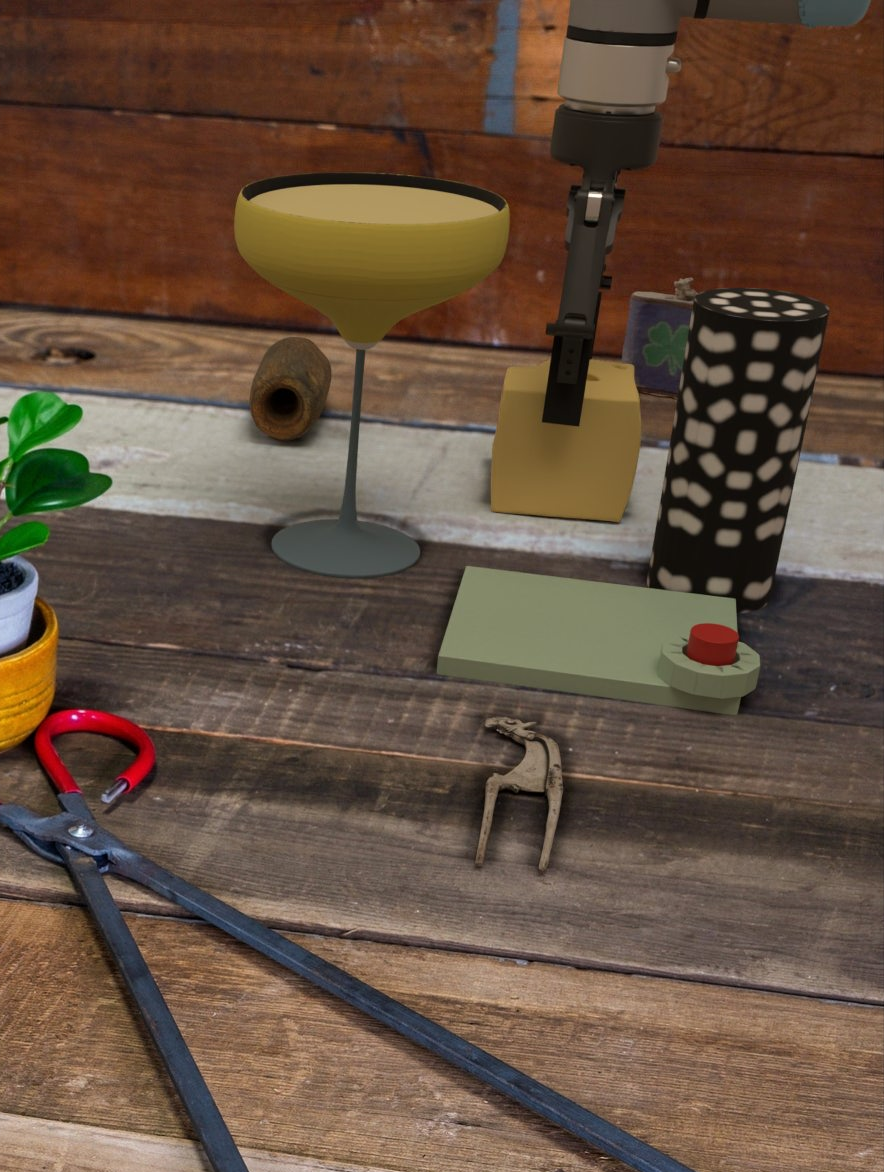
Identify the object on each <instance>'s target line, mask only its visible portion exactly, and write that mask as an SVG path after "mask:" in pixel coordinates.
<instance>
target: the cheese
mask: <svg viewBox="0 0 884 1172" xmlns="http://www.w3.org/2000/svg"><path fill="white" fill-rule="evenodd" d="M550 361H551V358H550V359H547V360H545V361H544V362H542V363H541V364H538V365H533V366H509V367H508V368H507V369H506V373H505V377H504V379H503V384H502V390H501V395H500V402H499V412H498V417H497V422H496V426H495V427H496V428H495V433H494V437H493V441H492V447H491V466H490V467H491V468H490V510H491V512H493V513H496V514H497V513H500V514H513V515H514V514H515V515H528V516H540V517H541V516H542V517H549V518H551V517H552V518H563V519H564V518H565V519H578V520H579V519H580V520H595V521H604V522H613V523H620V522H621V521H622V518H623V515H624V513H625V511H626V508H627V505H628V502H629V500H630V497H631V494H632V492H633V491H632V490H633V488H634V487H633V486H634V482H635V479H636V473H637V469H638V463H639V457H640V450H641V443H642V417H641V416H642V413H641V403H640V401H641V400H640V394H639V391H638V390H637V388H636V385H635V380H634V366H633V365H631V364H623V363H621V362H614V361H607V360H600V359H592V360H591V359H590V361H589V367H588V374H587V380H586V387H585V393H584V400H583V406H582V412H581V419H580V425H579V427H578V426H569V425H560V424H552V423H543V422H542V417H543V410H544V403H545V396H546V389H547V382H548V375H549V368H550Z"/></svg>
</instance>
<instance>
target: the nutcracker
mask: <svg viewBox="0 0 884 1172" xmlns="http://www.w3.org/2000/svg"><path fill="white" fill-rule="evenodd" d="M484 721H485V723H484V726H485V727H486V728H492V727H497V729H496V732H499V733H500V734H504V736H506V737H507V738H511V739H512V740H513V741H514V742H516V743H519V744H521V745H523V746H524V747H525V754H524V757H523V759H522V760H521V762H520V763H519V764H518V765H517V766H515V767H514V768H513V769H512V770H511V771H509V772H508V773H506V774H504V775H503V774H499V773H496V772H494V773H492V776H489V777H488V779H487V780H486V782H485V787H484V788H485V798H484V809H483V815H482V821H481V827H480V832H479V833H480V834H479V840H478V845H477V852H476V857H475V866H476V867H481V866H483V865H484V862H485V857H486V851H487V846H488V841H489V838H490V833H491V829H492V828H491V827H492V823H493V817H494V815H493V814H494V810H495V807H496V801H497V797H498V794H499V791H503V790H510V791H512V792H513V793H516V794H518V792H519V791H520V792H521V791H522V792H528V793H544V796H545V797H546V798H547V802H548V815H547V818H546V823H545V824H546V825H545V834H544V840H543V844H542V851H541V854H540V860H539V863H538V870H539V871H542V872H544V871H545V870H546V869H547V867H548V864H549V862H550V855H551V852H552V851H551V850H552V848H553V843H554V838H555V835H556V829H557V825H558V821H559V817H560V811H561V805H562V800H563V799H562V798H563V793H564V786H563V785H564V784H563V776H562V775H563V773H562V772H563V771H562V770H563V769H562V760H561V753H560V748H559V745H558V743H556V742H555V740H553V738H551V737H549V736H547V735H543V734H540V733H539V732H537V731H535V730H530V729H531V728H533V727H534V726H535V725H537V724H538V721H529V722H525V723H524V722H522V721H521V720H519V719H518V718H515V719H512V718H510V717H507V716H503V717H502V716H496V717H494V716H492V717H491V718H490V717H489V718H486V720H484Z"/></svg>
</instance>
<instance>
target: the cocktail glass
mask: <svg viewBox="0 0 884 1172" xmlns="http://www.w3.org/2000/svg"><path fill="white" fill-rule="evenodd" d="M510 214H511V213H510V207H509V204H508V202H507V200H506V199H505V198H504V197H502V196H501V195H500V194H498V193H495V192H493V191H491V190H489V189H486V188H483V187H479V186H476V185H472V184H469V183H468V184H467V183H464V182H459V181H454V180H447V179H442V178H435V177H428V176H419V175H411V174H400V173H399V174H398V173H386V172H385V173H383V172H360V171H359V172H357V171H355V172H353V171H349V172H348V171H345V172H344V171H341V172H339V171H338V172H337V171H335V172H333V171H332V172H311V173H310V172H309V173H296V174H288V175H280V176H274V177H268V178H263V179H260V180H256V181H253V182H251V183H248V184H246V185H245V186H244V187H243V188H241V190H240V192H239V194H238V196H237V200H236V203H235V209H234V218H233V219H234V223H233V224H234V225H233V230H234V239H235V243H236V247H237V250H238V252H239V254H240V256H241V257H242V259H243V260H244V261H245V262H246V263H247V264H248V266H249V267H250V268H251V269H252V270H254V271H255V272H256V273H257V274H258V275H259V276H260V277H261V278H262V279H263V280H265V281H267V283H269V284H271V285H273V286H274V287H276V288H278V289H279V290H281V291H283V292H284V293H286V294H288V295H289V296H291V297H292V298H295V299H297V300H299V301H300V302H302V303H304V304H306V305H308V306H310V307H311V308H313V309H315V311H316V310H317V311H318V312H319V313H321V314H323V315H324V316H325V317H327V318H328V319H329V320H330V321H331V322H332V324H333V325H334V327H335V328H336V329H337V331H338V333H339V334H340V336H341V338H342V339H343V340H344V343H346V344H347V345H348V346H349V347H350V348H352V349H354V350H355V363H354V377H353V391H352V405H351V415H350V416H351V417H350V428H349V439H348V449H347V450H348V451H347V462H346V471H345V480H344V481H345V482H344V490H343V496H342V501H341V507H340V511H339V514H338V518H325V519H315V520H314V519H313V520H308V521H301V522H298V523H295V524H294V523H293V524H291V525H288V526H286V527H284V528H283V529H280V530H279V531H278V532H276V533H275V534H274V536H273V537H272V538H271V544H270V545H271V550H272V552H273V554H274V555H275V556H276V557H277V559H279V560H280V561H282V562H283V563H285V564H286V565H289V566H290V567H293V568H295V569H298V570H301V571H303V572H307V573H310V574H314V575H319V576H325V577H330V578H331V577H332V578H340V579H341V578H342V579H369V578H379V577H380V578H381V577H386V576H387V577H388V576H391V575H395V574H399V573H401V572H404V571H406V570H408V569H410V568H412V567H413V566H414V565H415V564H417V562H418V561H419V560H420V557H421V548H420V545H419V544H418V542H417V541H416V540H415V539H414V538H413V537H411V536H409V534H406V533H405V532H402V531H401V530H398V529H396V528H393V527H391V526H388V525H383V524H380V523H376V522H371V521H366V520H365V521H364V520H359V519H358V515H357V513H358V512H357V499H356V498H357V475H358V474H357V473H358V471H357V470H358V458H359V457H358V455H359V442H360V441H359V440H360V425H361V413H362V412H361V411H362V398H363V386H364V385H363V384H364V374H365V373H364V372H365V363H366V362H365V361H366V350H367V351H368V350H371V349H373V348H374V347H376V346H377V345H378V344H379V343H380V342H381V341H382V340H383V339H384V337H385V336H387V334H388V333H389V331H391V329H392V328H393V327H394V326H395V325H396V324H397V323H399V322H400V321H402V320H404V319H406V318H407V317H410V316H412V315H415V314H416V313H418V312H421V311H424V310H427V309H428V308H429V309H430V308H431V307H434V306H437V305H439V304H441V303H444V302H446V301H448V300H451V299H453V298H455V297H457V296H459V295H461V294H463V293H465V292H467V291H469V290H471V289H472V288H474V287H476V286H477V285H479V284H480V283H481V282H483V281H484V280H485V279H486V278H488V277H489V276H490V275H491V274H492V273H493V272H494V271H496V269H497V268H498V267H499V266H500V264H501V263H502V261H503V259H504V257H505V254H506V251H507V246H508V241H509V233H510V224H511V223H510V222H511V220H510V219H511V215H510Z"/></svg>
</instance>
